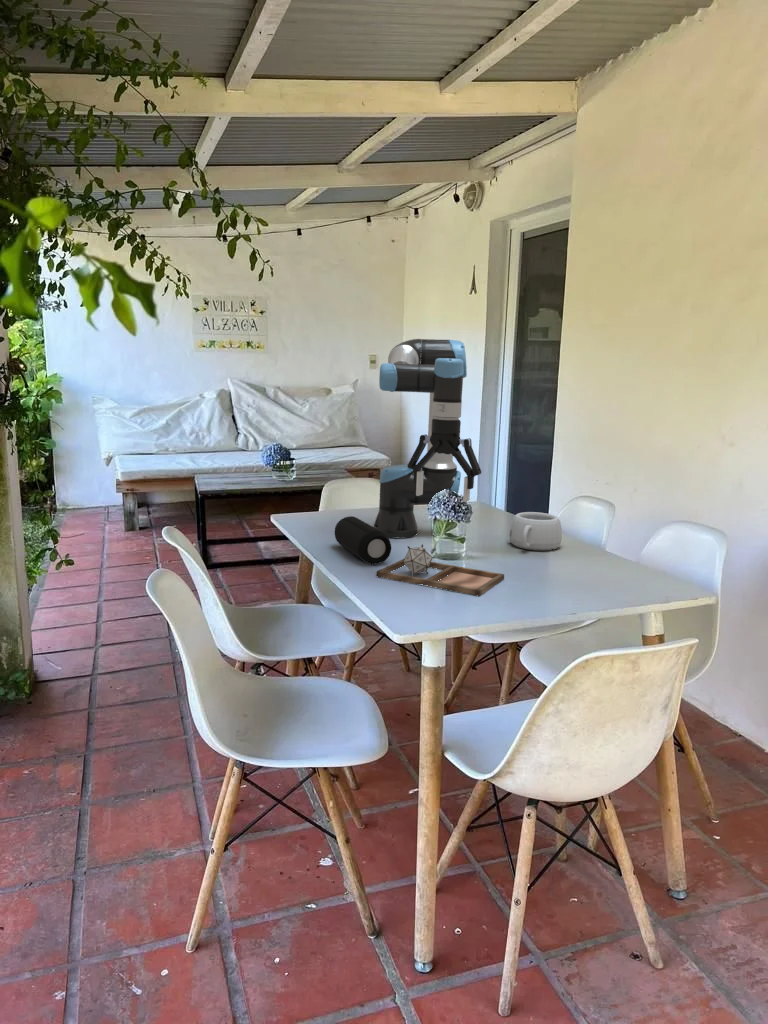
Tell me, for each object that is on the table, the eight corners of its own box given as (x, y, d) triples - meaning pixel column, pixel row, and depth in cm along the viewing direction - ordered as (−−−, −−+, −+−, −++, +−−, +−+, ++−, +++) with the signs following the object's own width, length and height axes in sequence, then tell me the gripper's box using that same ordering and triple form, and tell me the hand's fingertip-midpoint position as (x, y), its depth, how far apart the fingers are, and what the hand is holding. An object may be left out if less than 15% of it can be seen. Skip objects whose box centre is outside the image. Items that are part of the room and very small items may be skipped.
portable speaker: (393, 565, 217) (394, 531, 215) (361, 568, 213) (362, 533, 211) (360, 544, 240) (361, 513, 238) (331, 546, 236) (332, 515, 234)
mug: (517, 537, 257) (519, 508, 255) (566, 544, 249) (569, 514, 247) (497, 550, 238) (499, 519, 236) (549, 558, 230) (551, 526, 228)
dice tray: (376, 576, 204) (376, 571, 204) (406, 562, 220) (406, 557, 219) (479, 596, 190) (479, 590, 190) (503, 579, 206) (504, 574, 205)
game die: (423, 588, 208) (437, 565, 201) (394, 577, 207) (408, 554, 200) (426, 565, 215) (440, 543, 208) (398, 554, 213) (412, 531, 207)
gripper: (397, 415, 199) (394, 494, 203) (486, 422, 188) (481, 505, 192) (409, 414, 206) (406, 490, 210) (496, 420, 195) (491, 501, 199)
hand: (442, 498), depth 201 cm, fingers open, 13 cm apart
